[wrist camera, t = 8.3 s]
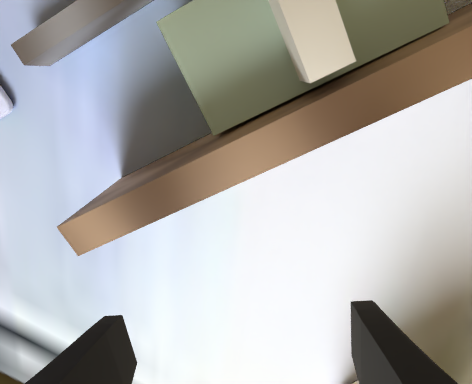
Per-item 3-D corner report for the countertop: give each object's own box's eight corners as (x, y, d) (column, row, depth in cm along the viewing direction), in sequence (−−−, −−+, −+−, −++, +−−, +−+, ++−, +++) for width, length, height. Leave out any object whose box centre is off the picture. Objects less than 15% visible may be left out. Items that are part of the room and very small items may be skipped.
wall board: (134, 199, 20) (78, 256, 14) (38, 47, 17) (-86, 34, 11) (574, -11, 14) (801, -71, 8) (535, -277, 12) (826, -648, 6)
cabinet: (223, 122, 18) (202, 151, 11) (179, 33, 16) (126, 8, 10) (404, 34, 16) (506, 8, 9) (372, -78, 14) (466, -203, 8)
